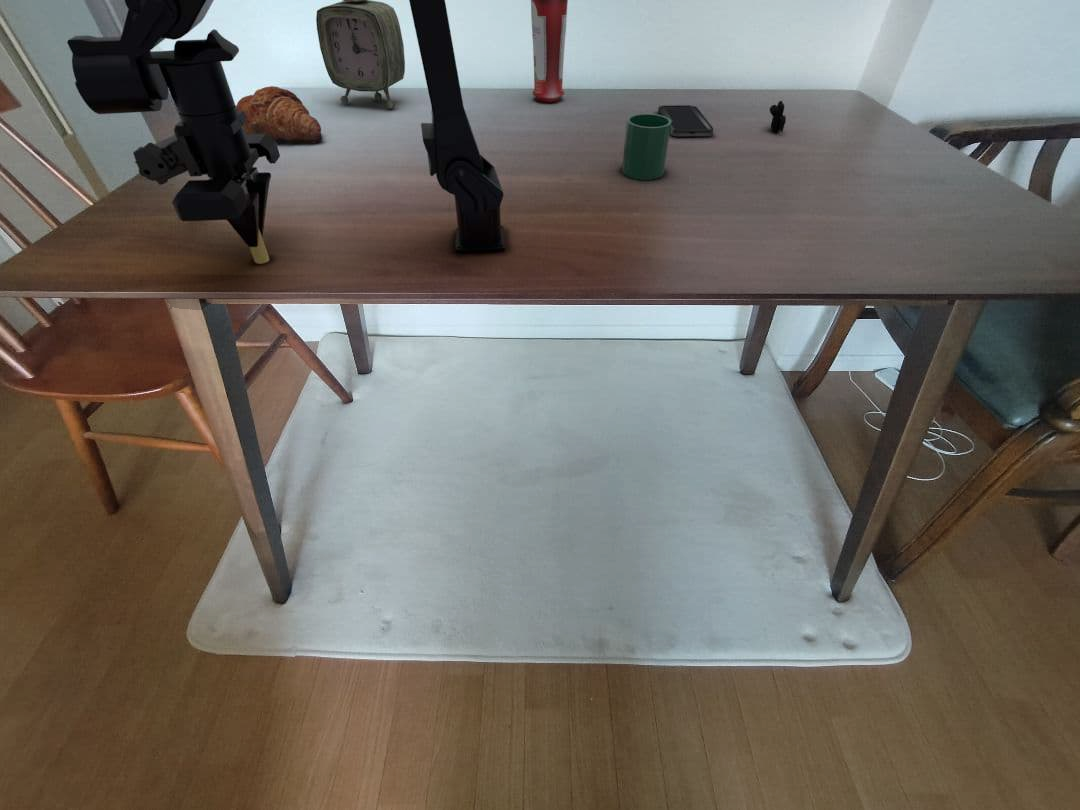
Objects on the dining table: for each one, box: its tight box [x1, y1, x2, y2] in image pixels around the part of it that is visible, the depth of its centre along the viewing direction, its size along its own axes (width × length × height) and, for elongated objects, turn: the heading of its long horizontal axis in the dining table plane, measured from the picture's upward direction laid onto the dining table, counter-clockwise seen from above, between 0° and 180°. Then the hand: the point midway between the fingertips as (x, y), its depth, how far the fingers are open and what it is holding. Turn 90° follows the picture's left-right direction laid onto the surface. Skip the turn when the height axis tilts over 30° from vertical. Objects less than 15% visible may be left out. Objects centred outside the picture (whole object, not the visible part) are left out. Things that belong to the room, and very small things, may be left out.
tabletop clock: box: [315, 0, 406, 110], centre depth 114 cm, size 14×9×25 cm, turn 73°
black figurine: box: [769, 100, 787, 133], centre depth 109 cm, size 7×2×5 cm, turn 175°
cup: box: [621, 113, 671, 181], centre depth 93 cm, size 7×7×8 cm
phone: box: [657, 104, 714, 138], centre depth 112 cm, size 8×1×15 cm
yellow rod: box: [248, 230, 270, 265], centre depth 71 cm, size 2×2×9 cm
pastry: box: [235, 85, 323, 144], centre depth 105 cm, size 17×15×8 cm
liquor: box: [530, 0, 569, 104], centre depth 115 cm, size 7×7×28 cm
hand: (255, 242), depth 72 cm, fingers closed on yellow rod, 2 cm apart
